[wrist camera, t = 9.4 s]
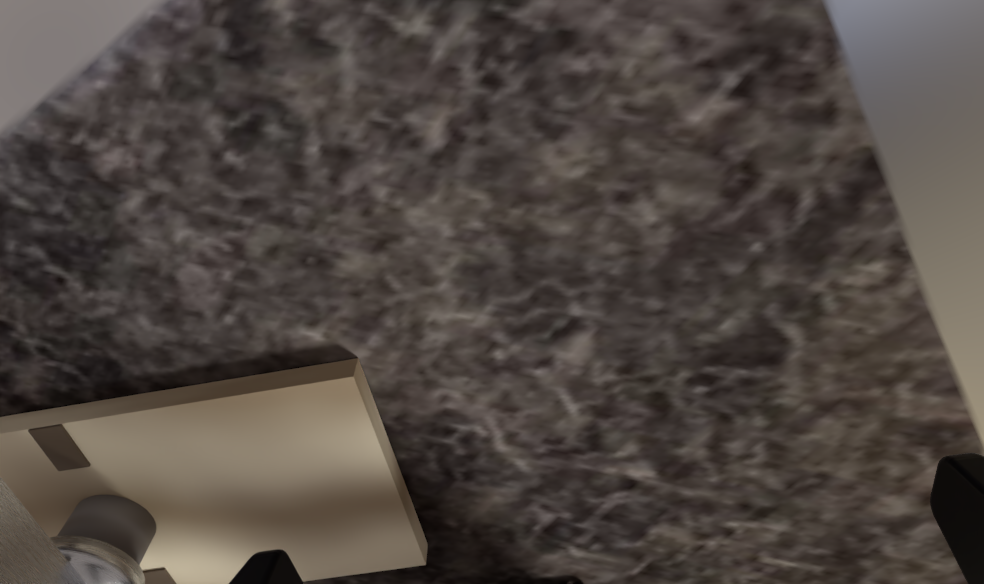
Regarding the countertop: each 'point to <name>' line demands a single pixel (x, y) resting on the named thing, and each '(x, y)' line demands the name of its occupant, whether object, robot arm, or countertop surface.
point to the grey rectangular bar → (56, 553)
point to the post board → (223, 476)
